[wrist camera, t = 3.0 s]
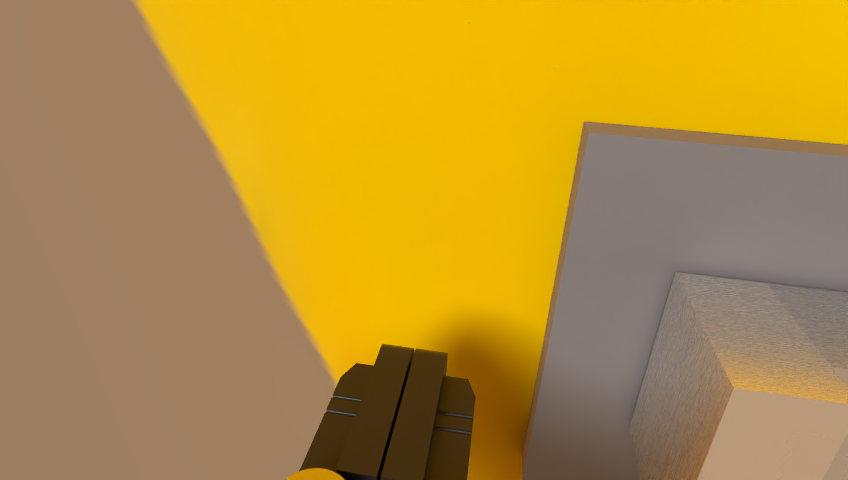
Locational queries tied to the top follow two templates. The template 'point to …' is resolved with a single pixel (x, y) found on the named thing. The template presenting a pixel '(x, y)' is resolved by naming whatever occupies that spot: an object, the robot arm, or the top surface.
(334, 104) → the top surface
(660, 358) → the block
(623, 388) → the base
